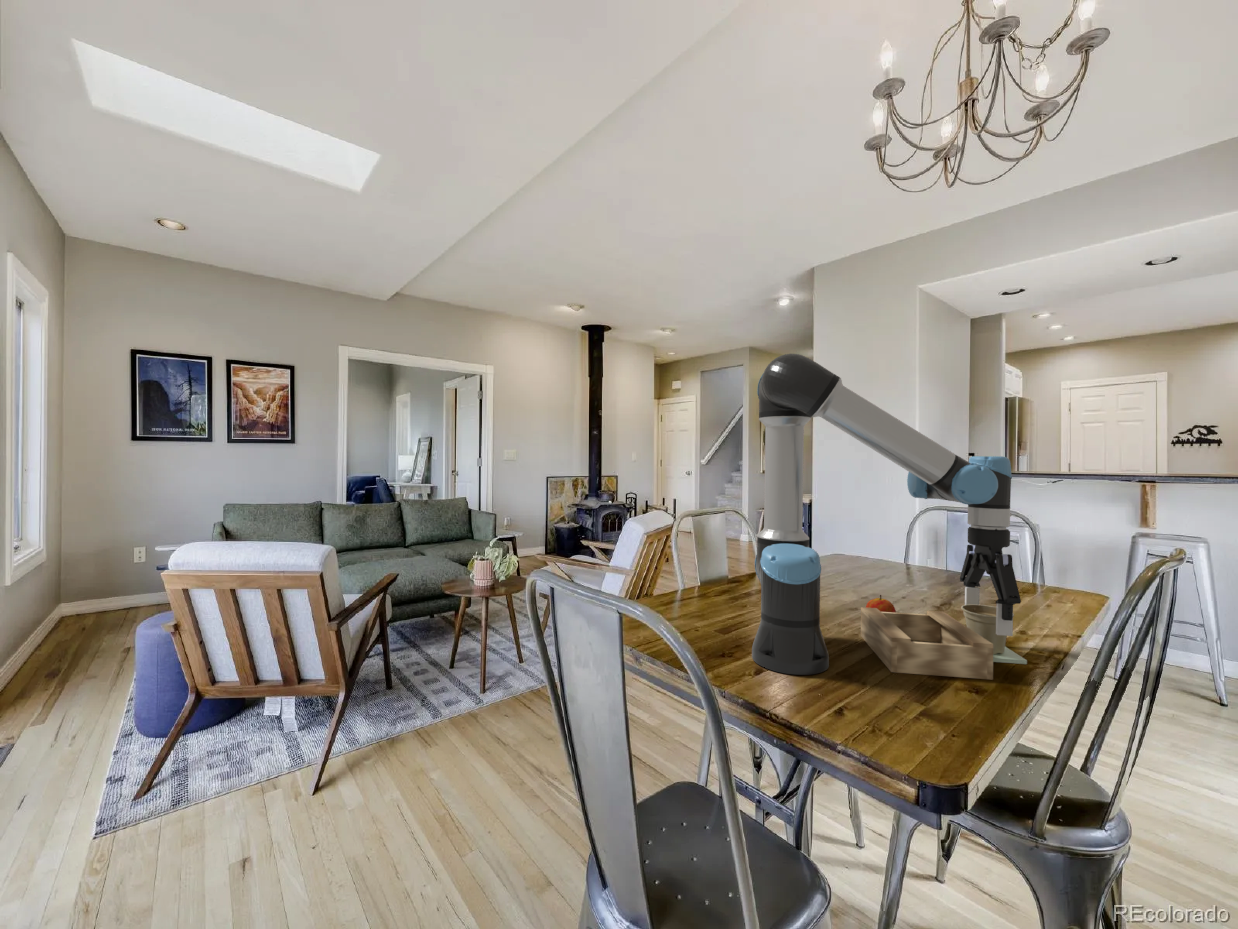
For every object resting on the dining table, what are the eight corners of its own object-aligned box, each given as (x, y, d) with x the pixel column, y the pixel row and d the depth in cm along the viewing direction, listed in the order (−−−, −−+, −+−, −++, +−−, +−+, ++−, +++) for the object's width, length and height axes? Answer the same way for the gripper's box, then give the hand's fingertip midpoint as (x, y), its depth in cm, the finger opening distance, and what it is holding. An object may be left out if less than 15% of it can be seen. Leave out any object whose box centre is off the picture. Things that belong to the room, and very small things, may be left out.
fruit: (868, 620, 137) (868, 589, 137) (897, 625, 133) (898, 594, 133) (862, 627, 131) (862, 595, 131) (893, 632, 127) (893, 599, 127)
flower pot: (1023, 659, 108) (1023, 617, 108) (972, 656, 109) (972, 615, 109) (999, 644, 117) (1000, 605, 117) (953, 641, 119) (953, 603, 119)
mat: (973, 660, 109) (973, 656, 109) (951, 644, 119) (951, 640, 119) (1026, 664, 107) (1026, 660, 107) (1000, 647, 117) (1000, 643, 117)
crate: (891, 672, 103) (891, 637, 103) (860, 635, 124) (860, 607, 124) (992, 679, 99) (993, 644, 99) (943, 641, 121) (943, 611, 121)
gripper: (1043, 535, 100) (1042, 646, 100) (979, 521, 124) (977, 610, 125) (1000, 534, 101) (998, 643, 101) (944, 520, 126) (943, 608, 126)
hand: (987, 625), depth 113 cm, fingers open, 13 cm apart
